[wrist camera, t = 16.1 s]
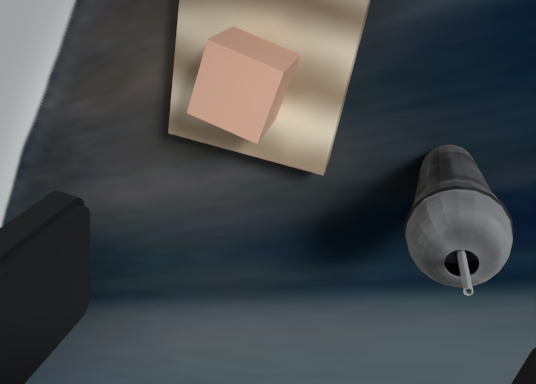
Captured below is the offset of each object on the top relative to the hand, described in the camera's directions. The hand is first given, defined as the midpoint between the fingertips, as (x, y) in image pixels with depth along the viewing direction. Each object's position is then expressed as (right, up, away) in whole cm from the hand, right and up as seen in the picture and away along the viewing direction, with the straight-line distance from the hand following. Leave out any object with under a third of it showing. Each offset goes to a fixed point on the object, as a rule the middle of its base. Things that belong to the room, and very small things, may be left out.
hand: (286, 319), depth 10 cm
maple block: (0, +14, +36) cm, 38 cm away
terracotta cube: (-1, +13, +32) cm, 35 cm away
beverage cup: (+16, +5, +35) cm, 39 cm away
